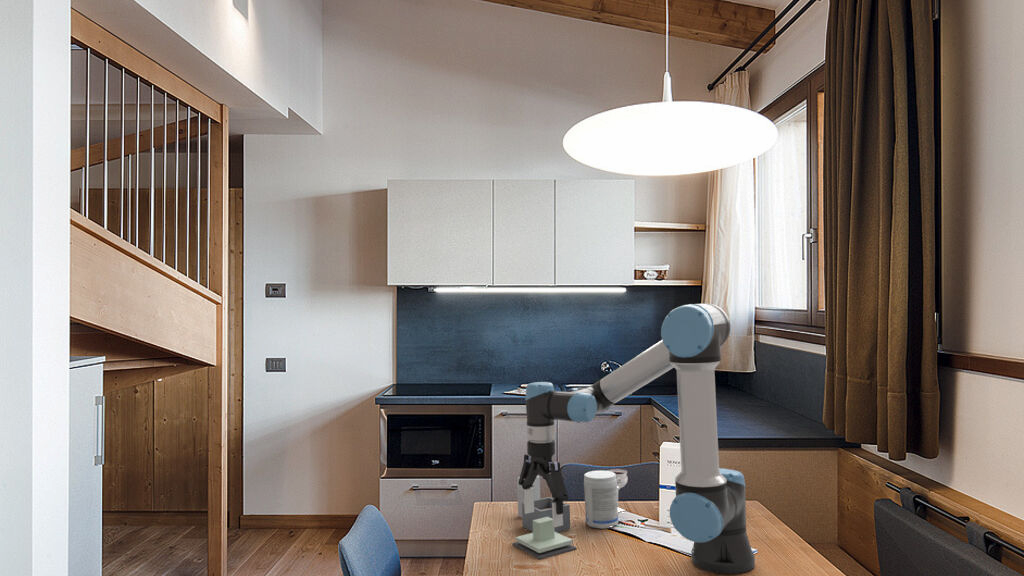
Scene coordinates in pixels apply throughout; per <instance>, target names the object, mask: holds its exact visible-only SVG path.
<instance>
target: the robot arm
mask: <svg viewBox="0 0 1024 576" xmlns="http://www.w3.org/2000/svg"><path fill="white" fill-rule="evenodd" d="M730 334H731V321H730V319H729V316H728V314H727V313H726V311H724V310H723V309H722V308H721V307H720V306H717V305H716V304H712V303H694V304H693V303H689V304H683V305H681V306H678V307H676V308H674V309H672V310H670V312H669V313H668V314H667V315H666V316H665V318H664V320H663V322H662V324H661V328H660V336H661V340H659V341H658V342H657V343H655V344H653V345H652V346H650V347H649V348H647V349H646V350H644V351H642V352H641V353H639V354H638V355H636V356H635V357H633V358H632V359H630V360H629V361H627V362H625V363H624V364H623V365H621V366H619V367H618V368H616V369H615V370H613V371H612V372H610V373H609V374H607V375H606V376H603V378H601V379H599V380H598V381H596V382H594V383H593V384H591V385H590V386H588V387H584V388H580V389H577V390H574V391H558V390H555V388H554V384H553V383H552V382H548V381H537V382H536V381H535V382H530V383H528V384H527V385H526V387H525V399H524V400H525V410H526V412H525V413H526V439H527V440H528V441H527V443H526V447H527V448H526V452H527V453H524V455H523V464H522V467H521V471H520V475H519V477H520V478H519V485H522V488H523V489H524V508H525V514H527V513H532V512H534V489H533V488H530V487H534V486H533V483H534V481H535V479H536V477H537V476H539V477H542V479H543V480H545V483H546V485H547V487H548V489H549V492H550V493H551V496H552V498H553V499H554V500H553V501H552V513H553V527H558V526H562V525H563V502H564V501H568V500H569V493H568V491H567V487H566V484H565V482H564V478H563V474H562V471H561V463H560V461H554V462H553V456H554V455H555V454H556V441H555V440H554V439H555V438H556V429H555V420H557V421H566V422H573V423H591V422H592V421H593V420H594V419H595V417H596V416H597V415H598V414H600V413H604V412H606V411H608V410H609V409H611V408H612V407H613V405H615V404H616V403H618V402H620V401H621V400H623V399H624V398H626V397H628V396H630V395H631V394H633V393H634V392H636V391H638V390H639V389H641V388H642V387H644V386H646V385H648V384H649V383H651V382H652V381H654V380H655V379H657V378H659V377H661V376H662V375H664V374H665V373H667V372H669V371H671V370H672V369H673V368H674V369H675V370H676V386H677V387H676V388H677V389H676V390H677V403H678V404H677V407H678V428H679V429H678V430H679V446H680V447H679V449H680V467H681V468H680V472H679V473H678V474H677V475H676V476H675V480H674V482H675V483H674V484H675V485H674V487H675V497H674V498H673V499H672V501H671V504H670V506H669V519H670V521H671V524H672V525H673V528H674V529H675V531H677V532H678V533H679V534H680V536H681V537H683V538H685V539H686V540H687V541H690V542H693V546H692V548H691V550H690V551H691V554H690V555H691V557H690V558H691V562H692V563H693V565H694V566H695V567H697V568H699V569H701V570H702V571H707V572H710V573H713V574H714V573H716V574H722V575H723V574H724V575H739V574H743V573H747V572H750V571H752V570H753V569H755V567H756V559H755V558H756V557H755V552H754V551H753V550H752V547H751V543H750V539H749V537H748V534H747V514H746V513H747V510H746V509H747V507H746V505H747V504H746V503H747V502H746V487H747V486H746V485H747V484H746V483H745V482H746V481H745V476H744V473H742V472H741V471H738V470H735V469H731V468H730V469H729V468H720V464H719V463H720V459H719V440H718V439H719V438H718V418H717V417H718V416H717V414H718V413H717V398H716V376H715V374H716V373H715V369H716V367H718V365H719V364H720V363H721V361H722V358H721V355H722V354H721V347H722V346H723V345H724V344H725V343H726V342H727V340H728V338H729V337H730ZM523 479H525V480H523Z"/></svg>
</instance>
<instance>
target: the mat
mask: <svg viewBox="0 0 1024 576" xmlns="http://www.w3.org/2000/svg"><path fill="white" fill-rule="evenodd" d="M512 546H514V547H516V548H517V549H520V550H521V551H523V552H525V553H527V554H528V555H530V556H531V557H534V558H535V559H537V560H543V559H547V558H550V557H553V556H557V555H561V554H564V553H568V552H573V551H575V550H577V547H576V546H574V545H572V544H569V545H566V546H564V547H560V548H557V549H553V550H550V551H546V552H543V553H538V552H536V551H534V550H532V549H530V548H528V547H527V546H525V545H523V544H521V543H519V542H517V541H515V542H512Z"/></svg>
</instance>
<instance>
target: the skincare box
mask: <svg viewBox="0 0 1024 576" xmlns="http://www.w3.org/2000/svg"><path fill="white" fill-rule="evenodd" d="M519 478H520V476H519V477H516V486H517V487H516V489H517V490H516V491H517V516H518V517H520V518H522V503H524V489H523V488H522V485H519ZM523 480H525V479H523ZM533 486H534V487H530V488H533V489H534V500H537V499H541V476H540V475H538V476H537V477H536V479H535V481H534V483H533Z"/></svg>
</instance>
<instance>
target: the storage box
mask: <svg viewBox="0 0 1024 576" xmlns="http://www.w3.org/2000/svg"><path fill="white" fill-rule="evenodd" d="M553 500H554V499H553V496H552V497H551V496H548V497H547V496H546V497H542V498H540V499H537V500H534V512H532V513H527V514H525V508H524V503H522V517H521V519H522V520H521V521H522V528H524V529H526V530H527V531H531V533H533V520H536V519H540V518H544V517H550V518H552V519H553V513H552V501H553ZM570 530H571V505H570V504H569V503H566V502H564V501H563V525H562V526H558V527H554V531H555V532H557V533H561V532H565V531H570Z"/></svg>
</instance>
